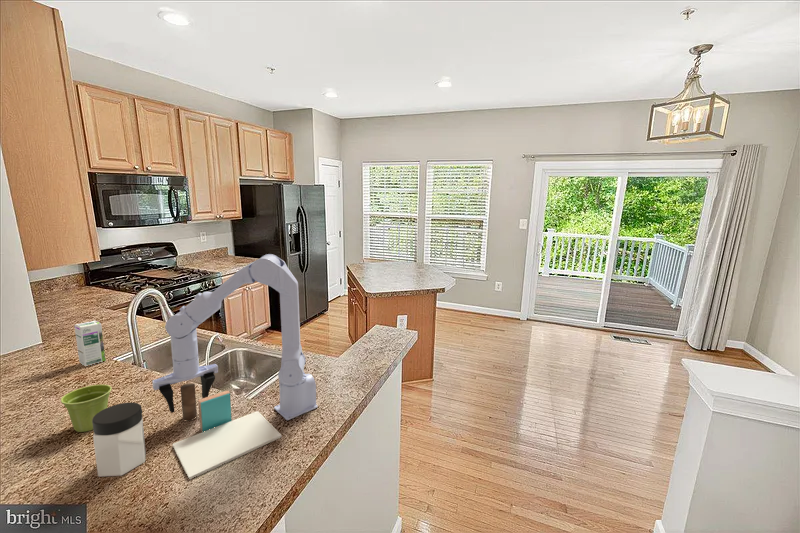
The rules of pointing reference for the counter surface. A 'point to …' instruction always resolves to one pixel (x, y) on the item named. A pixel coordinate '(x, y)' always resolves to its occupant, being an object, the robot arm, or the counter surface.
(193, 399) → the pestle
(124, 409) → the jar
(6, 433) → the counter surface
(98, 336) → the syrup box
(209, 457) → the board
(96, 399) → the plant pot
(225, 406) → the tile
